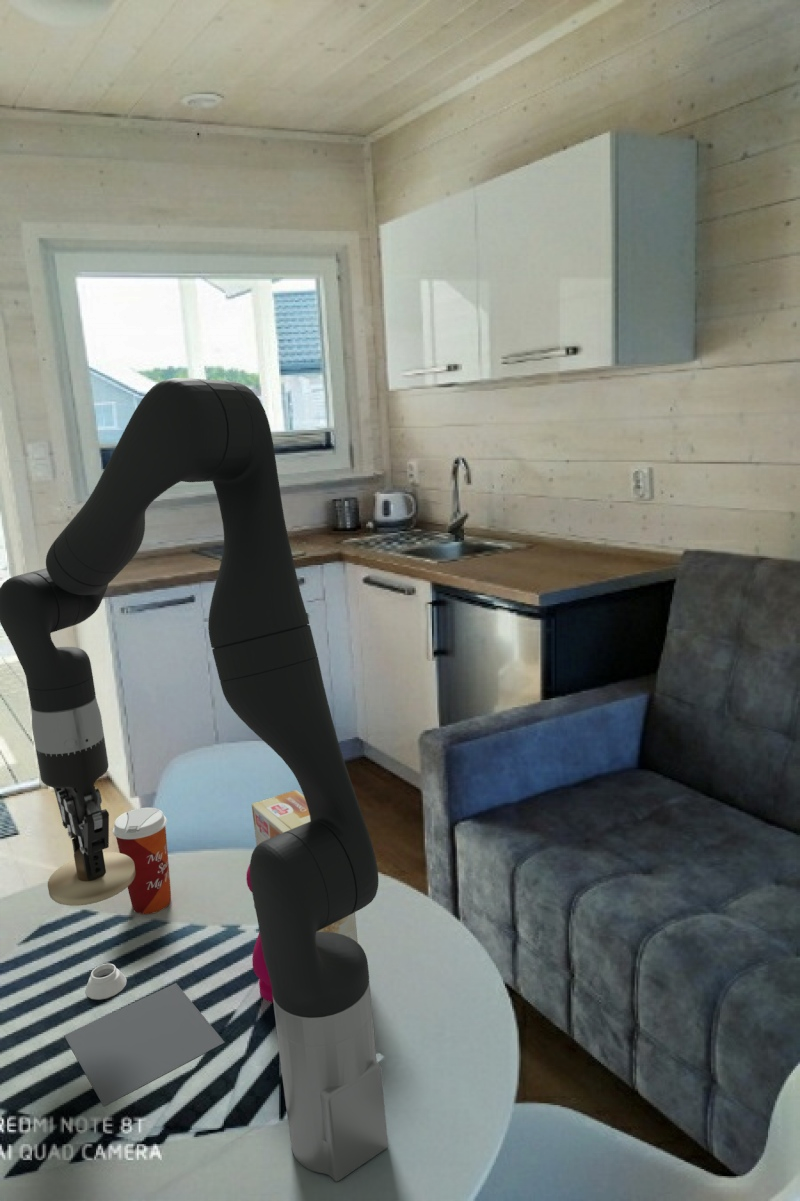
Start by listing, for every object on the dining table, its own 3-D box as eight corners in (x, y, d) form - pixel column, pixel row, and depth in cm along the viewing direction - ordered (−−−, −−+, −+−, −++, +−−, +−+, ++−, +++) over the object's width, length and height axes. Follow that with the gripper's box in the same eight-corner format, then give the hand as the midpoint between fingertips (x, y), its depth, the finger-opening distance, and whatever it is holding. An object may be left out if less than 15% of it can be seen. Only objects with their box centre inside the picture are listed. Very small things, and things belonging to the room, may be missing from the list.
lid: (148, 882, 106) (143, 852, 105) (64, 916, 100) (58, 885, 99) (118, 850, 114) (113, 822, 113) (38, 880, 108) (32, 851, 107)
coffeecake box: (362, 966, 113) (349, 828, 109) (312, 989, 110) (297, 846, 105) (310, 913, 126) (297, 787, 121) (264, 932, 122) (249, 802, 118)
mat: (225, 1046, 101) (224, 1042, 101) (104, 1110, 93) (103, 1106, 93) (176, 986, 112) (176, 982, 112) (64, 1039, 104) (64, 1035, 104)
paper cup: (170, 917, 128) (157, 828, 124) (118, 920, 128) (103, 832, 125) (184, 887, 135) (172, 803, 132) (134, 890, 136) (121, 806, 132)
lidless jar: (78, 1002, 111) (114, 1005, 110) (74, 982, 110) (110, 985, 109) (99, 977, 116) (134, 979, 115) (96, 957, 115) (131, 959, 114)
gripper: (122, 746, 99) (142, 883, 103) (82, 713, 110) (102, 837, 114) (54, 767, 95) (78, 908, 99) (19, 729, 106) (42, 858, 110)
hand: (91, 869), depth 107 cm, fingers closed on lid, 3 cm apart
